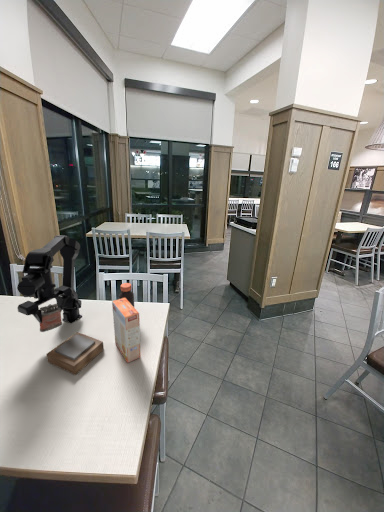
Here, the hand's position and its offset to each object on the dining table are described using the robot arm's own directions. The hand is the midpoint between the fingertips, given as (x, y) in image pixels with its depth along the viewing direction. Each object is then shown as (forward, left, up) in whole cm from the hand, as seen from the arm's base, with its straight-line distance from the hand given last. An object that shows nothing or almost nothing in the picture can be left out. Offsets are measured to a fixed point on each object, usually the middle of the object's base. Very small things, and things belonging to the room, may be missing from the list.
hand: (50, 317), depth 91 cm
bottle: (-25, +18, -13) cm, 34 cm away
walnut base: (+2, +14, -13) cm, 19 cm away
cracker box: (-9, +30, -13) cm, 34 cm away
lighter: (+1, 0, -5) cm, 5 cm away
